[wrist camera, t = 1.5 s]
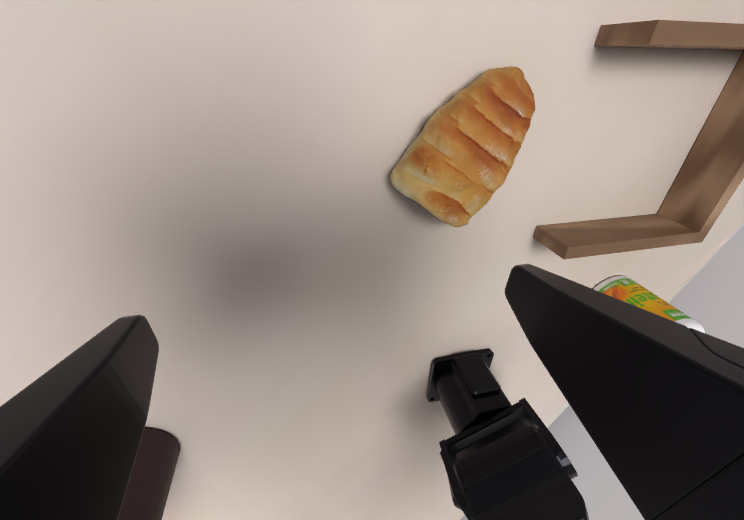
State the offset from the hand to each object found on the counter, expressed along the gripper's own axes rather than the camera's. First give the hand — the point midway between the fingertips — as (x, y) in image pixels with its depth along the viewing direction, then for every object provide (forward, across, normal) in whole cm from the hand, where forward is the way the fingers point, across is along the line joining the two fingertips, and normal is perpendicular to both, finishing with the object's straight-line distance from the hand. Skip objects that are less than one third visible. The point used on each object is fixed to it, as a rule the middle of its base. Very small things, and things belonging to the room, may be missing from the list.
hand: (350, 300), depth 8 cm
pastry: (+14, -9, 0) cm, 17 cm away
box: (+13, -24, 0) cm, 27 cm away
